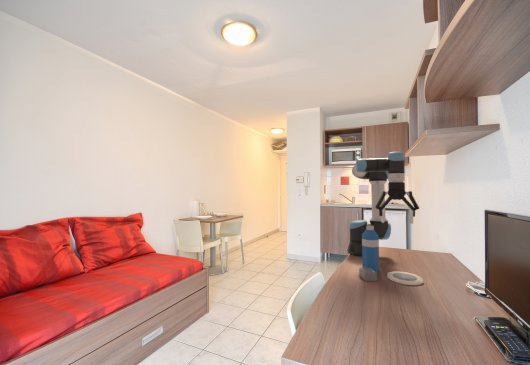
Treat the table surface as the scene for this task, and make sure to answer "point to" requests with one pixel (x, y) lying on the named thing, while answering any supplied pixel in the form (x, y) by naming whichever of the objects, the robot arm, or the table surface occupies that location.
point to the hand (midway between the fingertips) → (396, 222)
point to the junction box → (368, 274)
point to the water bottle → (370, 249)
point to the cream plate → (404, 278)
